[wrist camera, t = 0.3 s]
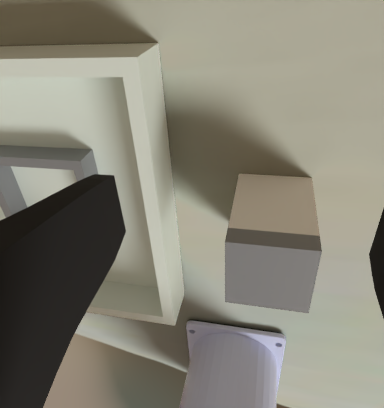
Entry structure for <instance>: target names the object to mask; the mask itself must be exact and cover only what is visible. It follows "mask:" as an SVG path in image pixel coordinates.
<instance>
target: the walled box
mask: <svg viewBox="0 0 384 408" xmlns="http://www.w3.org/2000/svg"><path fill="white" fill-rule="evenodd" d="M94 174H101V175H114V177H115V182H116V187H117V191H118V196H119V201H120V205H121V210H122V215H123V219H124V224H125V229H126V233H125V235H124V238H123V241H122V244H121V246H120V249H119V251H118V254H117V256H116V259H115V261H114V263H113V265H112V267H111V268H110V270H109V272H108V274H107V276H106V277H105V279H104V281H103V283H102V285H101V286H100V288H99V290H98V292H97V293H96V295H95V297H94V299H93V300H92V302H91V304H90V306H89V308H88V309H87V311H86V312H88V313H95V314H101V315H108V316H114V317H121V318H127V319H134V320H140V321H147V322H153V323H160V324H166V325H173V326H175V324H176V321H177V317H178V314H179V311H180V307H181V304H182V300H183V297H184V294H185V292H184V282H183V272H182V263H181V253H180V244H179V234H178V225H177V215H176V205H175V196H174V186H173V177H172V167H171V157H170V148H169V138H168V129H167V119H166V110H165V100H164V90H163V81H162V71H161V62H160V52H159V43H129V44H84V45H40V46H0V220H2V219H5V218H7V217H9V216H11V215H13V214H15V213H17V212H19V211H21V210H23V209H25V208H27V207H29V206H31V205H33V204H35V203H37V202H39V201H41V200H43V199H45V198H47V197H48V196H50V195H52V194H54V193H56V192H58V191H60V190H62V189H64V188H66V187H68V186H70V185H72V184H73V183H75V182H78V181H80V180H82V179H84V178H86V177H88V176H91V175H94Z"/></svg>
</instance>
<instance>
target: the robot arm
mask: <svg viewBox="0 0 384 408" xmlns="http://www.w3.org/2000/svg"><path fill="white" fill-rule="evenodd" d="M125 233H126V229H125V224H124V219H123V215H122V210H121V205H120V201H119V196H118V191H117V187H116V182H115V177H114V175H101V174H94V175H91V176H88V177H86V178H84V179H82V180H80V181H78V182H75V183H73V184H72V185H70V186H68V187H66V188H64V189H62V190H60V191H58V192H56V193H54V194H52V195H50V196H48V197H47V198H45V199H43V200H41V201H39V202H37V203H35V204H33V205H31V206H29V207H27V208H25V209H23V210H21V211H19V212H17V213H15V214H13V215H11V216H9V217H7V218H5V219H2V220H0V408H43V406H44V403H45V401H46V398H47V396H48V393H49V391H50V388H51V386H52V383H53V381H54V378H55V376H56V373H57V371H58V369H59V366H60V364H61V362H62V360H63V357H64V355H65V353H66V350H67V348H68V346H69V344H70V341H71V339H72V337H73V335H74V333H75V331H76V329H77V327H78V325H79V323H80V322H81V320H82V318H83V316H84V315H85V313H86V311H87V309H88V308H89V306H90V304H91V302H92V300H93V299H94V297H95V295H96V293H97V292H98V290H99V288H100V286H101V285H102V283H103V281H104V279H105V277H106V276H107V274H108V272H109V270H110V268H111V267H112V265H113V263H114V261H115V259H116V256H117V254H118V251H119V249H120V246H121V244H122V241H123V238H124V235H125ZM369 256H370V263H371V270H372V276H373V282H374V288H375V292H376V295H377V299H378V302H379V305H380V308H381V311H382V315H383V318H384V209H383V212H382V215H381V218H380V222H379V225H378V228H377V231H376V234H375V237H374V241H373V244H372V247H371V250H370V253H369ZM186 330H187V339H188V349H189V358H190V364H189V369H188V373H187V378H186V382H185V386H184V390H183V395H182V399H181V404H180V408H276V396H277V391H278V385H279V379H280V373H281V367H282V361H283V355H284V349H285V344H286V337H285V336H284V335H283V334H280V333H273V332H267V331H260V330H253V329H247V328H240V327H233V326H226V325H220V324H213V323H206V322H199V321H193V320H190V321H188V322H187V325H186Z"/></svg>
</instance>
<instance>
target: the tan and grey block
mask: <svg viewBox="0 0 384 408" xmlns="http://www.w3.org/2000/svg"><path fill="white" fill-rule="evenodd" d="M321 252H322V250H321V242H320V235H319V227H318V220H317V212H316V205H315V197H314V190H313V182H312V178H309V177H291V176H274V175H256V174H239V176H238V181H237V186H236V191H235V196H234V201H233V206H232V211H231V216H230V220H229V225H228V230H227V235H226V240H225V302H229V303H237V304H244V305H251V306H259V307H266V308H274V309H281V310H289V311H296V312H303V313H309V308H310V303H311V299H312V294H313V289H314V285H315V280H316V276H317V271H318V266H319V262H320V257H321Z"/></svg>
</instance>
